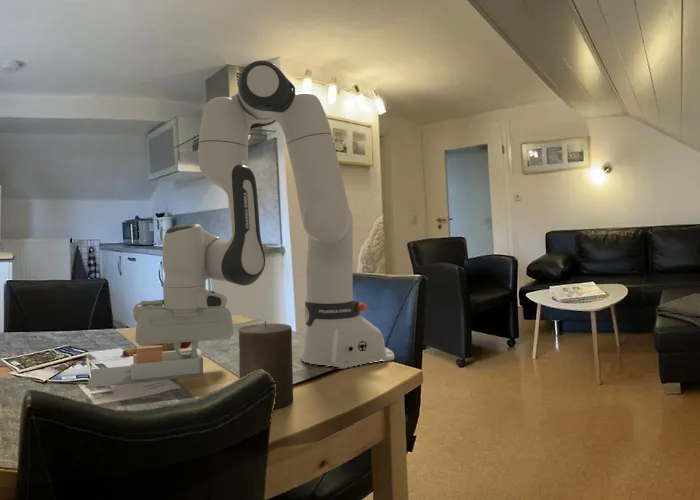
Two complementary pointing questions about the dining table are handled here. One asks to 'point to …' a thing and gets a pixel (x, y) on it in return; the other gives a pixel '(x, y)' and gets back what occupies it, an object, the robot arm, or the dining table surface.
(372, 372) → the dining table surface
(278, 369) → the pillar candle
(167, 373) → the channel
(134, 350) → the kendama
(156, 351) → the terracotta block
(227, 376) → the dining table surface
